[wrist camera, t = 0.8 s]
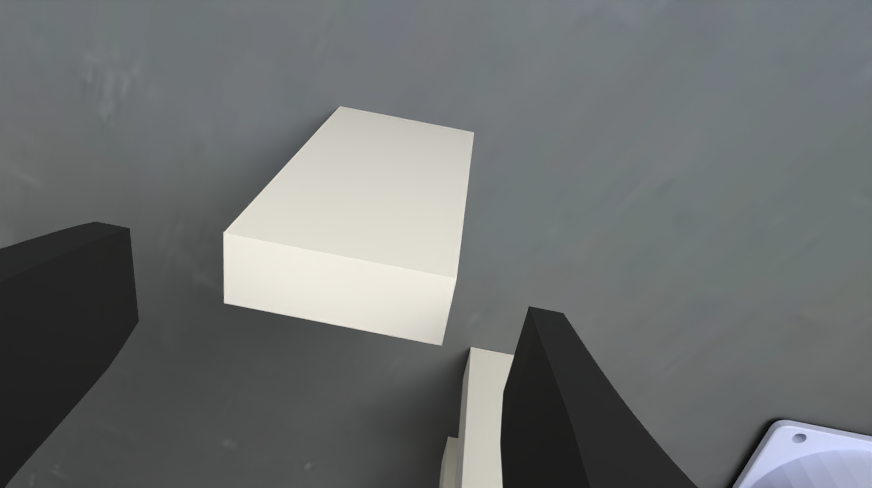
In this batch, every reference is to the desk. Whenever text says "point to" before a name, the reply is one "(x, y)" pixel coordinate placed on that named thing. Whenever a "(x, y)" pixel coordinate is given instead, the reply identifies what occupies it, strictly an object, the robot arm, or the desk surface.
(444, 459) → the domino
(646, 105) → the desk surface
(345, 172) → the domino
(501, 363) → the domino
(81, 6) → the desk surface
